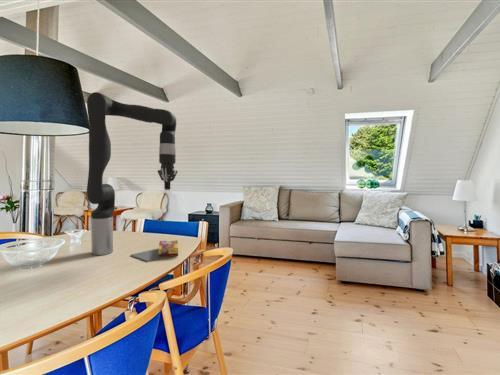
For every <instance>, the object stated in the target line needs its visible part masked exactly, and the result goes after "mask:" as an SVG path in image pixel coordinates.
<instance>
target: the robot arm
mask: <svg viewBox="0 0 500 375" xmlns="http://www.w3.org/2000/svg"><path fill="white" fill-rule="evenodd" d="M86 100H87V101H86V107H87V109H86V110H87V115H88V116H87V117H88V176H87V185H86V199H87V201H88V202H89V203H91V204H93V205H97V207H96V208H95V209H94V210H92V211H91V214H90V224H91V225H90V226H91V228H90V229H91V230H90V232H91V237H90V238H91V241H90V242H91V254H92V255H94V256H104V255H109V254H111V253H113V252H114V231H113V230H114V226H113V225H114V222H113V219H114V217H113V214H114V212H115V203H116V192H115V189H114V187H113V185H111V184H109V183H103V179H104V178H103V177H104V172H105V170H106V168H107V166H108V164H109V162H110V160H111V155H112V148H111V147H112V146H111V145H112V144H111V139H110V135H109V133H108V132H109V131H108V129H107V124H106V116H113V117H123V118H127V119H132V120H136V121H140V122H144V123H150V124H151V123H154V124H157V125H158V124H159V125H161V132H160V133H159V148H158V150H159V151H158V162H159V164H161V165H160V169H158V170H157V173H158V175H159V178H160V180H161V181H163V182H164V184H163V185H164V190H166V191H170V190H171V182H173V181H174V180H175V179H176V176H177V174H178V170H176V169H175V164H176V157H177V156H176V151H177V150H176V137H175V135H176V132H177V131H176V129H177V118H176V116H175V114H173V113H172V112H171V111H170V110H167V109H162V108H153V107H150V106H144V105H140V104H127V103H123V102H119V101H116V100H113V99H111V98H110V97H108V96H107V95H104V94H103V93H101V92H97V91H96V92H91V93H90V94H89V96H88V97H87V99H86ZM89 124H90V125H89Z"/></svg>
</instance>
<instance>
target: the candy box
mask: <svg viewBox="0 0 500 375" xmlns="http://www.w3.org/2000/svg"><path fill="white" fill-rule="evenodd" d="M178 242H179V241H178V239H177V240H159V245H158V248H159V251H158V257H165V258H167V257H166V256H169V257H178V256H179V243H178Z"/></svg>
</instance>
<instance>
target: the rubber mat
mask: <svg viewBox="0 0 500 375" xmlns="http://www.w3.org/2000/svg"><path fill="white" fill-rule="evenodd" d="M158 251H159V247H157V248H154V249H150V250H145V251H141V252H137V253H132V254H130V257H133V258H135V259H138V260H140V261H144V262H146V263H149V262H153V261H156V260H160V259H164V258H168V257H170V256H166V257H158Z"/></svg>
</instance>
